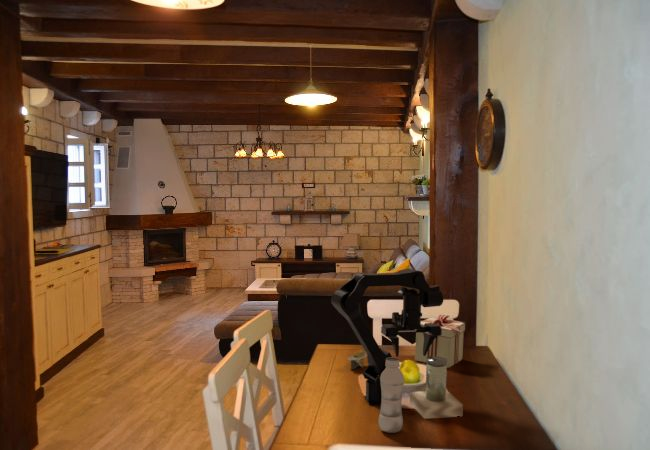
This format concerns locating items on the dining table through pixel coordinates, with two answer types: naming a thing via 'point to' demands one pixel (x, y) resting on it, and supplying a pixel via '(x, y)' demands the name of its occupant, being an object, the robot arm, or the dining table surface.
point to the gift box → (443, 341)
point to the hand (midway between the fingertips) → (410, 356)
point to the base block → (436, 406)
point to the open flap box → (357, 359)
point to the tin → (436, 378)
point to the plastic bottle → (391, 397)
